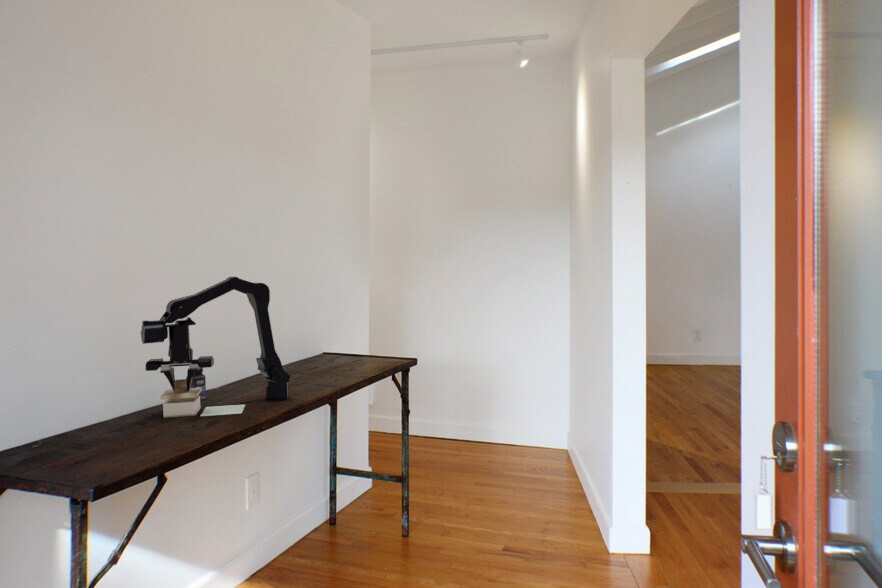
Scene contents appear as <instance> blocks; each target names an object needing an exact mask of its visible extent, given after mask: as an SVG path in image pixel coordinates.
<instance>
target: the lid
mask: <svg viewBox="0 0 882 588" xmlns="http://www.w3.org/2000/svg"><path fill="white" fill-rule="evenodd" d="M201 391H202V387H201V388H190V390H189V391H187V379H186V378H185V379H184V378H183V379H175V381H174V391H173V389H166V391H164V392H163V393H162V394H161V395H160V401H161V400H168V399H179V398H194V397H197V396H198V395H199V393H200V392H201Z"/></svg>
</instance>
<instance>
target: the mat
mask: <svg viewBox="0 0 882 588" xmlns="http://www.w3.org/2000/svg"><path fill="white" fill-rule="evenodd" d="M245 407H246V404H233V405H231V404H230V405H229V404H228V405H219V406H218V405H217V406H216V405H215V406H206V407H204V409H203V411H202V413H201V414H200V417H209V416H225V415H236V414H237V415H238V414H242V413H243V411H244V410H245Z"/></svg>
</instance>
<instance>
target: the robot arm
mask: <svg viewBox="0 0 882 588" xmlns="http://www.w3.org/2000/svg"><path fill="white" fill-rule="evenodd" d="M231 291H237V292H239V293H242V294H245V295H246V297H247V300H248V303H249V304H250V306H251V308H252V309H253V312H254V318H255V324H256V329H257V335H258V341H259V346H260V352H261V353H260V356H259V357H256V358H255V359H256V363H257V370H258V371H259V372H260V374H261V375H262V376H264V377H265V380H266V381H267V385H266V386H265V391H266V392H265V395H266V398H265V399H266V400H267V402H274V401H277V402H278V401H287V400H289V394H288V393H289V391H288V389H289V388H288V383H289V382H290V379H291V375H290V374H289V373H288V372H286V371H285V370H284V366H283V364H282V361H281V359H280V357H279V355H278V353H277V351H276V347H275V342H274V336H273V331H272V324H271V319H270V314H269V306H270V301H271V296H270V295H271V294H270V293H271V292H270V288H269V286H268V285H267V284H266V283H263V282H251V281H249V280H244V279H242V278H240V277H238V276H229V277H227V278H226V279H223V280H222V281H219V282H217V283H216V284H213V285H211V286H209V287H207V288H204V289H202V290H201V291H199V292H196V293H194V294H191V295H186V296H182V297H179V298H174V299H172V300H169V301H168V303H166V309H165V312H164V313H163V315H162V316H161V317H160V318H159V320H158V319H157V320H142V321H141V324H142V325H141V331H140V338H141V343H142V344H143V345H144V344H145V345H147V344H155V343H156V344H157V343H164V341H165V340H167V339H168V340H169V341H168V342H169V346H168V357H169V360H164V358H163V357H162V358H151V359H149V360H148V361H146V362H145V371H146V372H151V371H158V370H159V369H160V371H159V372H160V373H161V374H164V377H166V379H167V380H168V382H169V385H170V387H171V388H172V389H173V391H174V381H176V377H175V367H189V369H188V368H187V376H186V377H187V391H189V390H190V386H191V383H192V379H193V376H194V374H195V372H196V371H198V370H199V369H200V368H203V369H204V368H205V369H206V368H207V369H208V368H212V367H213V366H214V365H215V359H214V357H213V355H204V356H203V355H201V356H199V357H198V358H197V359H194V354H193V353H194V350H193V348H192V347H191V345H190V326H195V325H197V322H195V321H193V320H192V318H191V317H188V316H190V315H191V314H192V313H194V312H195V311H196V310H197V309H198V308H199V307H201V306H203V305H204V304H207V303H209V302H211V301H213V300H215V299H218V298H219V297H221V296H224V295H225V294H227V293H230V292H231Z"/></svg>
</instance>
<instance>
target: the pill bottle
mask: <svg viewBox="0 0 882 588" xmlns="http://www.w3.org/2000/svg"><path fill="white" fill-rule="evenodd" d="M189 368H190V367H189ZM189 368H187V370H188V369H189ZM203 373H204V368H200V369H199V370H198V371H196V372H195V374H194V376H193V379H192V383H191V386H190V388H201V387H202V391H201V392H200V393H199V395H198V396H200V402H201V401H205V400H206V399H207V388H206V387H207V386H206V384H207V383H206V374H203ZM185 379H187V376H186V377H185Z"/></svg>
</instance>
